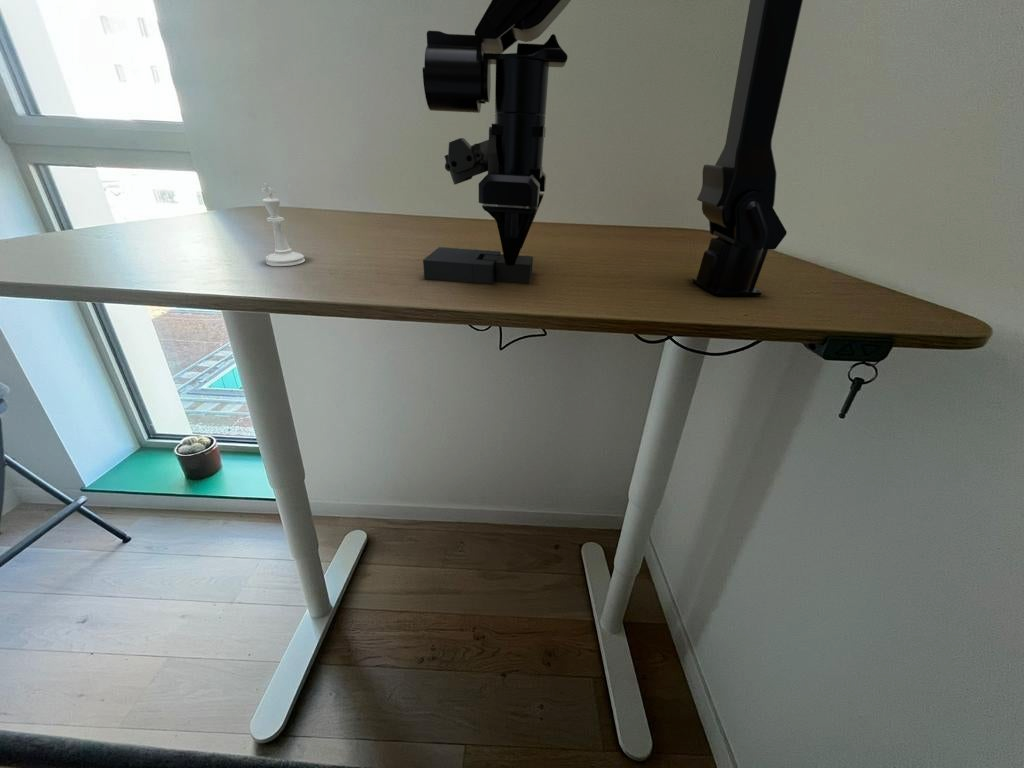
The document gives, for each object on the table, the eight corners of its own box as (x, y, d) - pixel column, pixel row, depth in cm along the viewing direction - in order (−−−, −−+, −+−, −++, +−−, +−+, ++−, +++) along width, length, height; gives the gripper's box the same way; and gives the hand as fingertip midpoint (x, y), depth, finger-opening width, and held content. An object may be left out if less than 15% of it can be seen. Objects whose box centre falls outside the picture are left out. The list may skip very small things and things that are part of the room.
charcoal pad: (500, 269, 58) (500, 251, 57) (491, 284, 52) (492, 265, 50) (439, 264, 59) (438, 246, 57) (424, 279, 52) (422, 259, 51)
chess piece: (290, 267, 54) (269, 186, 49) (258, 264, 55) (234, 183, 50) (312, 259, 58) (296, 182, 53) (282, 256, 59) (263, 180, 54)
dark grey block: (531, 274, 56) (533, 256, 55) (529, 283, 52) (530, 264, 51) (486, 270, 57) (486, 253, 55) (480, 280, 53) (480, 261, 52)
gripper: (467, 116, 54) (469, 238, 62) (425, 105, 38) (435, 270, 46) (550, 120, 53) (541, 243, 61) (543, 110, 37) (531, 277, 45)
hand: (514, 256), depth 53 cm, fingers open, 9 cm apart
